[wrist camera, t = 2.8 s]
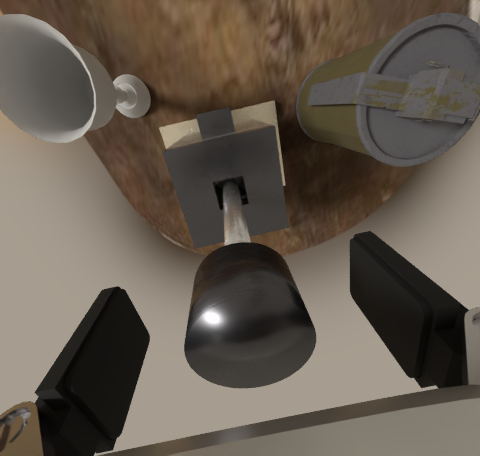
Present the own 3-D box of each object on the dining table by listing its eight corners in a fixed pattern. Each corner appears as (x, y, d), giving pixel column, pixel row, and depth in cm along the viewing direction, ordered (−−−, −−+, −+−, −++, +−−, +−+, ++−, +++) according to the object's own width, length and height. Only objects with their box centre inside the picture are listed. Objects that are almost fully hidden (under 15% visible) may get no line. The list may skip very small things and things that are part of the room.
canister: (379, 65, 32) (574, 13, 15) (354, 146, 37) (479, 181, 19) (302, 52, 31) (412, -24, 13) (285, 137, 36) (351, 166, 18)
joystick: (272, 96, 33) (318, 85, 18) (283, 183, 39) (326, 233, 23) (159, 123, 34) (107, 135, 18) (187, 205, 39) (165, 268, 24)
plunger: (249, 141, 25) (344, 248, 6) (258, 193, 28) (346, 384, 9) (195, 153, 26) (118, 297, 6) (210, 204, 28) (187, 416, 9)
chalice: (165, 120, 34) (114, 131, 17) (118, 131, 34) (24, 152, 18) (145, 58, 30) (59, 0, 14) (93, 70, 30) (-50, 28, 14)
